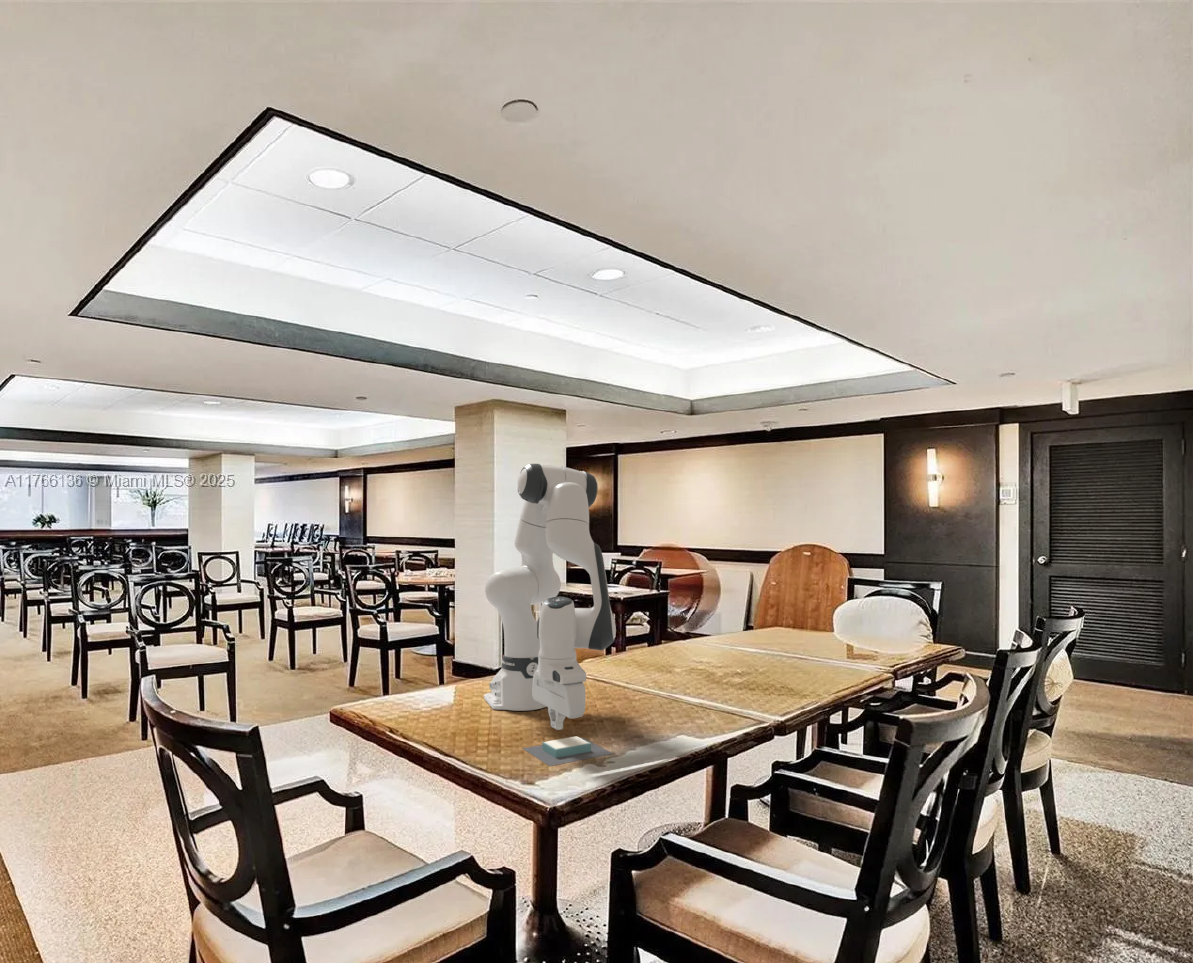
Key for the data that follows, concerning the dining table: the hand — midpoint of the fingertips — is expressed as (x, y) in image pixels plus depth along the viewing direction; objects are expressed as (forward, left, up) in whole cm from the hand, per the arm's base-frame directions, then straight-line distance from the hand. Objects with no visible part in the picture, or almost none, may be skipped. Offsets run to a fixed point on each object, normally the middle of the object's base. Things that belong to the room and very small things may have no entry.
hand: (556, 728), depth 176 cm
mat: (+5, 0, -5) cm, 7 cm away
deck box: (+1, 0, -3) cm, 3 cm away
